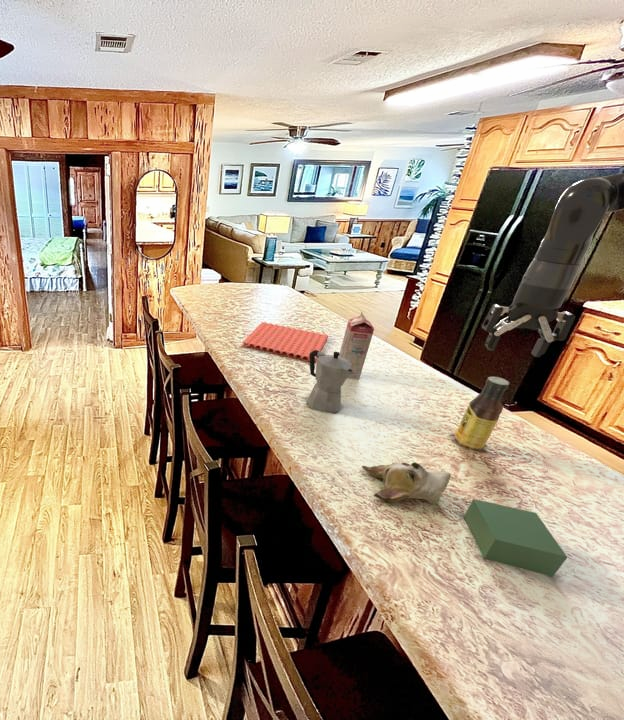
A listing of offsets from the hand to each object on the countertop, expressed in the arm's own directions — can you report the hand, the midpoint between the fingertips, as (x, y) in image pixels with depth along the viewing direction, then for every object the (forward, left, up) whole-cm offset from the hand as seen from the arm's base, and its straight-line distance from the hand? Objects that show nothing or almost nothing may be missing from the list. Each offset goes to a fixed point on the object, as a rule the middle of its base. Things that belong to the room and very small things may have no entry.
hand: (512, 352), depth 88 cm
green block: (+5, +34, -27) cm, 44 cm away
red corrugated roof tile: (+46, -54, -27) cm, 76 cm away
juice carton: (+25, -33, -27) cm, 50 cm away
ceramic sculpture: (+20, +25, -27) cm, 42 cm away
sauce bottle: (0, 0, -27) cm, 27 cm away
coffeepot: (+35, -8, -27) cm, 45 cm away
